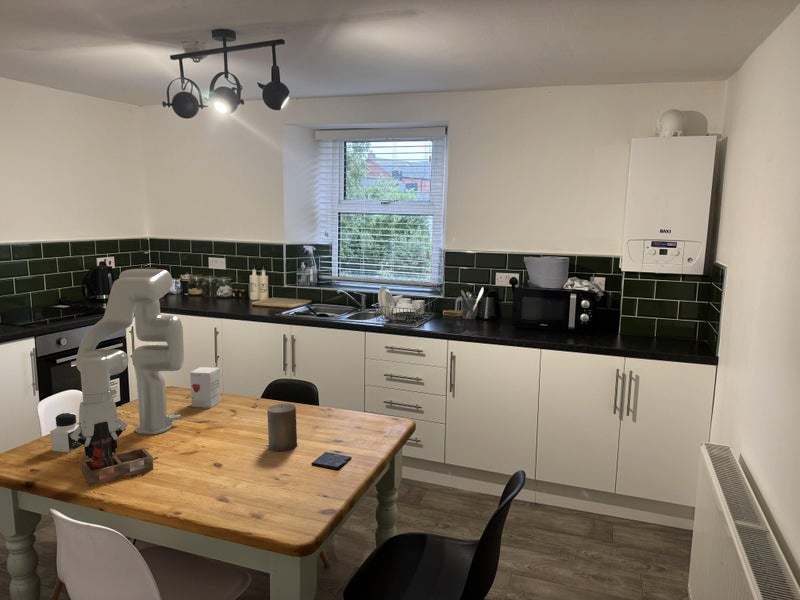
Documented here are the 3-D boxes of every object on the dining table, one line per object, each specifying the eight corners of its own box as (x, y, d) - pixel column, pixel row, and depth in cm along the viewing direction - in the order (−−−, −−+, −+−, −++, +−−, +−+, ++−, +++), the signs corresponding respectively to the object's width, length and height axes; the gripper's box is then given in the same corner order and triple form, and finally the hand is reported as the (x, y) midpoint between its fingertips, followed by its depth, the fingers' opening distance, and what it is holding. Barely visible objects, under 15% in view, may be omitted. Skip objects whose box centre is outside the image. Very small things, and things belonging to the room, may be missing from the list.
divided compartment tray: (143, 459, 187) (143, 447, 187) (153, 469, 179) (152, 457, 179) (81, 474, 176) (80, 462, 175) (89, 486, 168) (88, 473, 167)
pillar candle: (303, 445, 198) (301, 403, 196) (279, 454, 191) (277, 410, 189) (286, 438, 205) (284, 397, 203) (262, 446, 198) (261, 404, 196)
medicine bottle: (69, 453, 192) (66, 418, 190) (51, 451, 193) (48, 417, 192) (85, 444, 199) (82, 411, 197) (67, 443, 200) (64, 410, 199)
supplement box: (190, 407, 239) (189, 372, 237) (201, 400, 248) (200, 366, 246) (211, 408, 237) (209, 372, 235) (221, 401, 246) (219, 367, 244)
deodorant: (118, 466, 176) (114, 419, 174) (100, 473, 171) (96, 425, 169) (104, 462, 179) (100, 416, 177) (87, 470, 173) (83, 422, 171)
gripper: (124, 388, 180) (128, 443, 183) (61, 399, 169) (66, 458, 172) (131, 394, 174) (135, 451, 177) (66, 406, 163) (72, 466, 166)
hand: (101, 453), depth 174 cm, fingers closed on deodorant, 5 cm apart
